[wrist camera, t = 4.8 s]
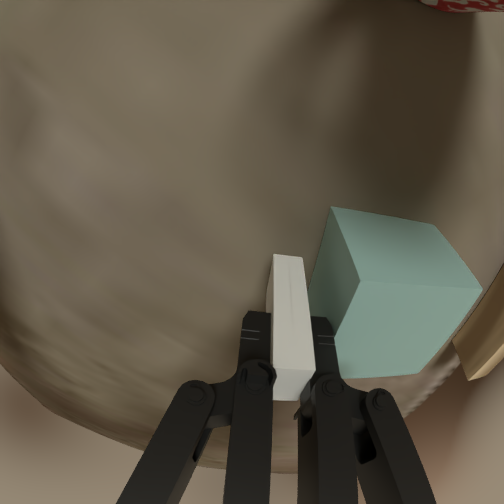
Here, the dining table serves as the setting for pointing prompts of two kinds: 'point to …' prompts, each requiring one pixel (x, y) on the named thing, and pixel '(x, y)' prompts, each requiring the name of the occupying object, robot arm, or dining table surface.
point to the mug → (466, 5)
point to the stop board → (483, 333)
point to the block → (388, 292)
